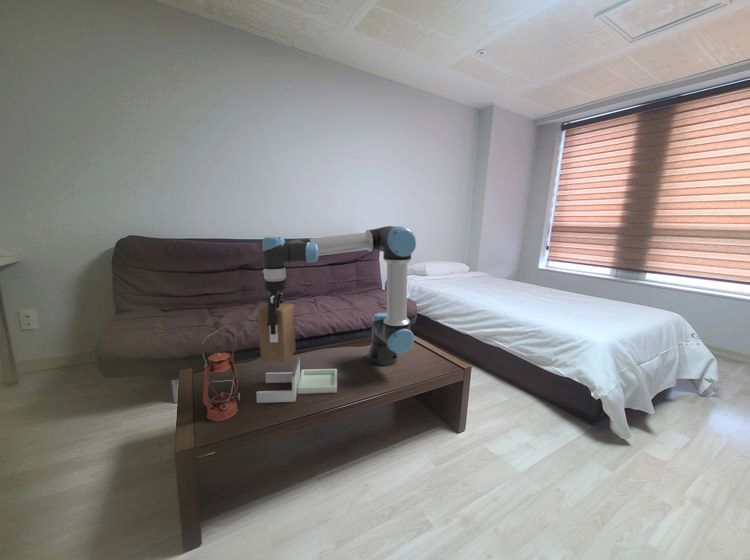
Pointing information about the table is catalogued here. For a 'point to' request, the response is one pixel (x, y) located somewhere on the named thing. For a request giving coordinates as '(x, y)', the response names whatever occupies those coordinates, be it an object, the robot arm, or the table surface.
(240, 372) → the table surface
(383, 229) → the robot arm
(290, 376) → the dock
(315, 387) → the tray
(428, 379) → the table surface
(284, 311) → the wooden block
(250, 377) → the table surface
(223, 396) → the lantern
